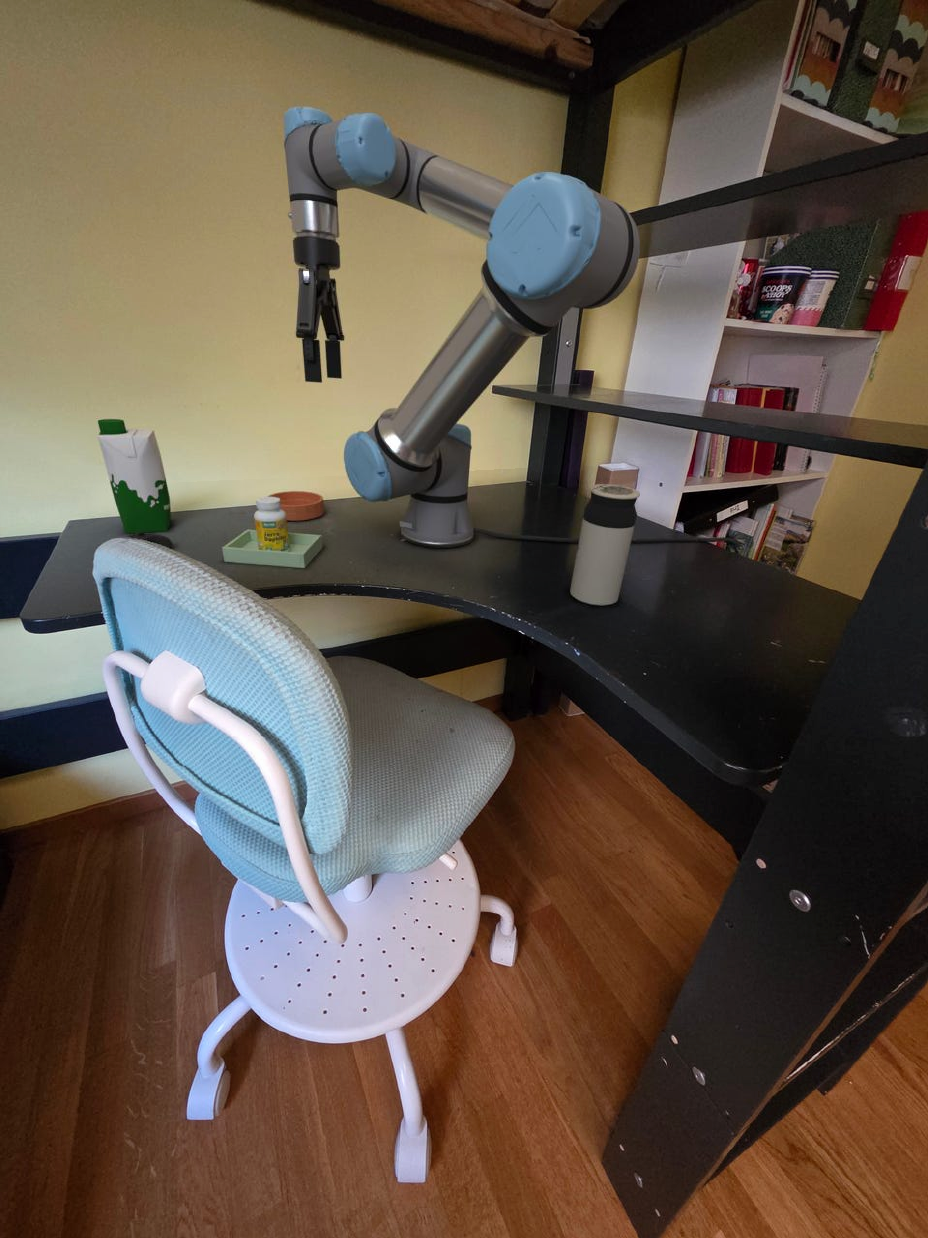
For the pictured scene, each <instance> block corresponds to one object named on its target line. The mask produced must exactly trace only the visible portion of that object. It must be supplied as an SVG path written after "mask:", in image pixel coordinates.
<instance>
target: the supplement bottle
mask: <svg viewBox="0 0 928 1238" xmlns="http://www.w3.org/2000/svg"><path fill="white" fill-rule="evenodd" d="M255 505H256V508H257V509H258V510H256V511H255V513H254V515H253V519H254V525H255V530H256V533H257V540H258V547H259V550H271V551H283V552H289V550H290V544H289V536H288V533H289V528H288V520H287V518H286V513H285V512H284V511H283V510H282V509H280V508H281V501H280V499H279V498H277V497H267V496H263V497H258V498H257V499H256V500H255Z"/></svg>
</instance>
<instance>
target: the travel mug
mask: <svg viewBox="0 0 928 1238" xmlns="http://www.w3.org/2000/svg"><path fill="white" fill-rule="evenodd" d="M589 491H590V500H589V501H588V502H587V504H586V505H585V507H584V510H583V516H582V522H581V527H580V533H579V538H578V539H579V543H577V550H576V555H575V561H574V566H573V571H572V572H573V573H572V577H571V583H570V589H569V593H570V595H571V596H572V597H573V598H575V599H576V600H577V601H579V602H581V603H584V604H588V605H592V606H609V605H614V604H615V603H617V602H618V600H619V597H620V591H621V588H622V584H623V579H624V575H625V570H626V566H627V562H628V557H629V552H630V548H631V544H632V543H631V540H632V538H633V535H634V531H635V526H636V521H637V517H638V513H637V509H636V506H635V505H636V502H637V500H638V498H639V497H640V496H641V493H640V491H639V490H637V489H635V488H632V487H629V486H625V485H619V484H613V483H612V484H611V483H597V484H593V485H591V486H590V487H589Z"/></svg>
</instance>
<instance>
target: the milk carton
mask: <svg viewBox="0 0 928 1238" xmlns="http://www.w3.org/2000/svg"><path fill="white" fill-rule="evenodd" d="M97 424H98V430H99V432H98V436H97V439H98V442H99V446H100V450H101V453H102V456H103V459H104V460H103V461H104V465H105V468H106V472H107V476H108V480H109V484H110V487H111V491H112V494H113V499H114V503H115V505H116V509H117V512H118V515H119V518H120V520H121V524H122V526H123V530H124V532H125V534H134V533H138V532H144V533H157V532H158V533H159V532H161V533H162V532H168V531H169V527H170V524H171V521H172V516H171V515H172V511H171V497H170V492H169V488H168V482H167V478H166V473H165V468H164V464H163V458H162V455H161V451H160V447H159V444H158V441H157V437H156V434H155V430H154V429H138V428H129V429H127V427H126V424H125V420H124V419H119V418H103V419H98V420H97Z"/></svg>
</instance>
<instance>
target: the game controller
mask: <svg viewBox="0 0 928 1238" xmlns="http://www.w3.org/2000/svg"><path fill="white" fill-rule="evenodd" d="M126 537H131V538H137V539H143V540H147V541H150V542H154V543H157V544H161V545H163V546H166V547H169V548H170V549H171V548H172V547H173V542H172V540H171V538H169V537H168V536H164V535H161V534H155V533H145V532H138V533H130V534H128V535H127V536H126Z"/></svg>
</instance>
